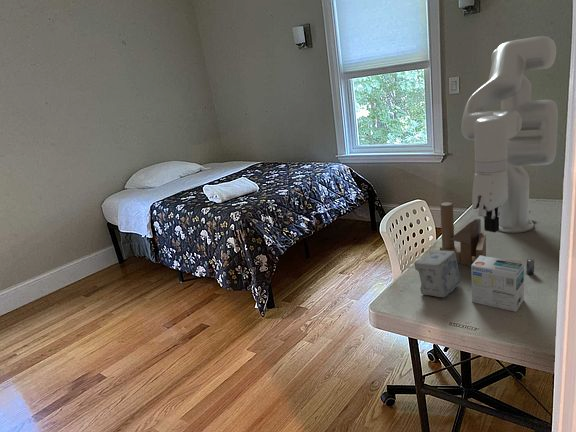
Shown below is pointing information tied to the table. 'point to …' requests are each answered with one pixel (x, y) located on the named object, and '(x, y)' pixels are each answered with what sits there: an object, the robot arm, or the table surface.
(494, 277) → the light bulb box
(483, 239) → the door
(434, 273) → the incense holder
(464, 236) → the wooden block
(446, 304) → the table surface
